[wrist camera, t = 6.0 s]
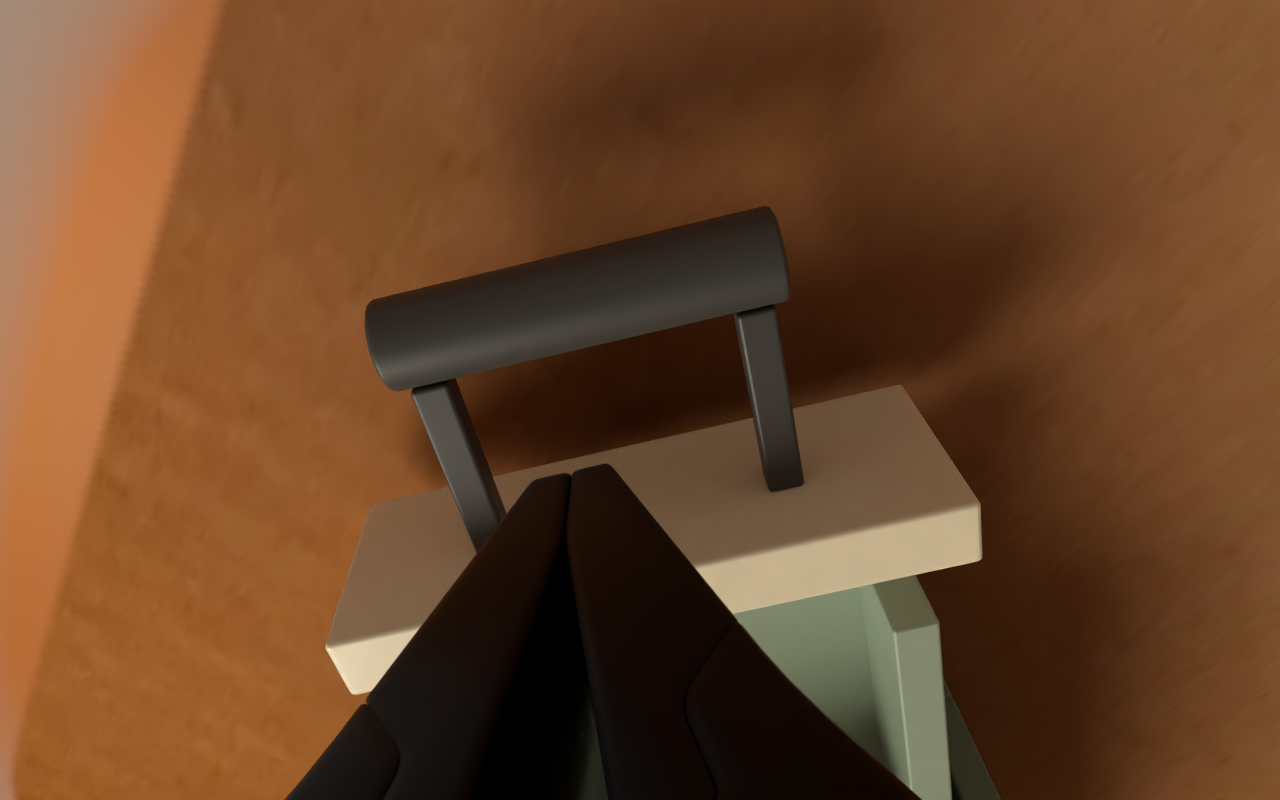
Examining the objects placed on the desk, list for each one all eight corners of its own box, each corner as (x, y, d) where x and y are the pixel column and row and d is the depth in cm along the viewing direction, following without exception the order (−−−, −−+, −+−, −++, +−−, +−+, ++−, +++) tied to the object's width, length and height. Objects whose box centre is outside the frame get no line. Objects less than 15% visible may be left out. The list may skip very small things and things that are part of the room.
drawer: (265, 282, 15) (177, 393, 12) (880, 133, 14) (972, 205, 11) (524, 827, 22) (515, 989, 19) (933, 744, 22) (996, 895, 19)
